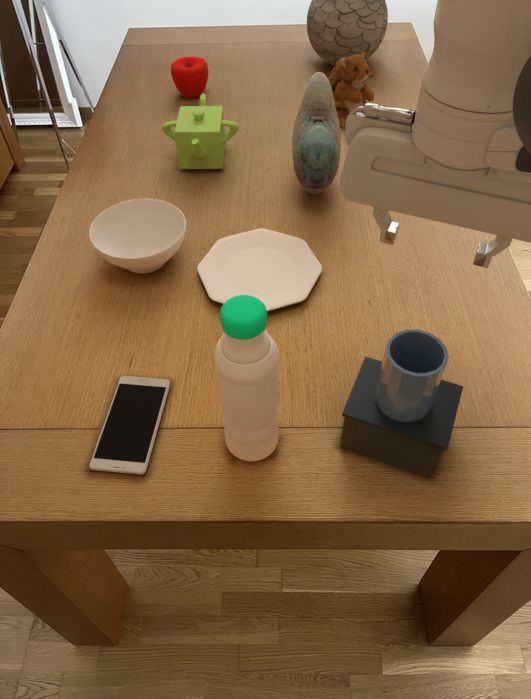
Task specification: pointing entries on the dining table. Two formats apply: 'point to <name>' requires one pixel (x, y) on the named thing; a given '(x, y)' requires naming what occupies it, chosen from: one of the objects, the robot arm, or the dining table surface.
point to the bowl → (138, 234)
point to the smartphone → (130, 425)
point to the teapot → (200, 135)
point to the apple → (190, 76)
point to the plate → (260, 268)
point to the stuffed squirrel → (350, 85)
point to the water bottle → (247, 379)
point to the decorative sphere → (346, 27)
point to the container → (398, 425)
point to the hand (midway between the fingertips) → (433, 251)
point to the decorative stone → (316, 136)
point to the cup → (410, 374)
